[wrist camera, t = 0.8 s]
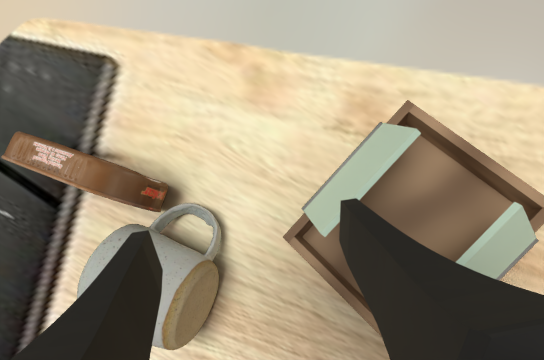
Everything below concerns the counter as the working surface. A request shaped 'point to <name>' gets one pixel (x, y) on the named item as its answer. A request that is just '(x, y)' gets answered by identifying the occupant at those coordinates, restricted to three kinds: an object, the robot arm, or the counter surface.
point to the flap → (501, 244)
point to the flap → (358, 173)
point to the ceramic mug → (170, 276)
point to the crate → (424, 202)
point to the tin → (86, 172)
